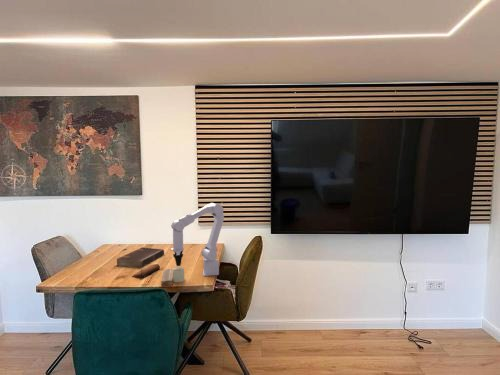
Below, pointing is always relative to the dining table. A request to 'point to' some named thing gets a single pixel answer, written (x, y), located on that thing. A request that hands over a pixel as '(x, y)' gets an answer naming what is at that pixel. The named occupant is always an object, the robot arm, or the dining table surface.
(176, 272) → the block
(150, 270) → the sunglasses case
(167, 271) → the tan rectangular bar
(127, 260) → the hardback book
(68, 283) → the dining table surface
